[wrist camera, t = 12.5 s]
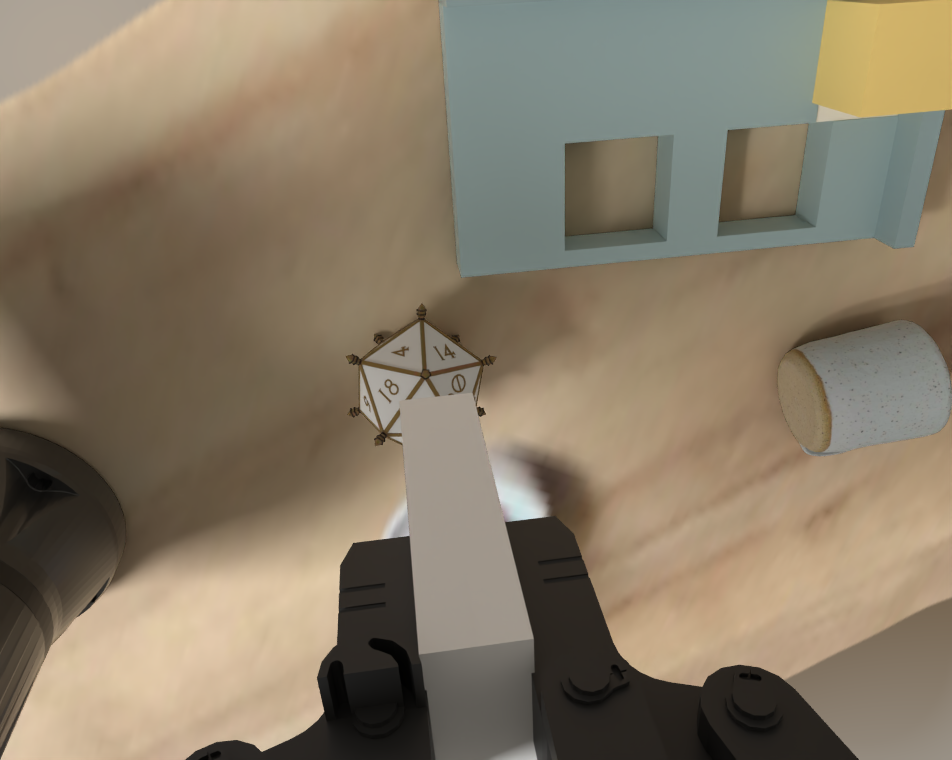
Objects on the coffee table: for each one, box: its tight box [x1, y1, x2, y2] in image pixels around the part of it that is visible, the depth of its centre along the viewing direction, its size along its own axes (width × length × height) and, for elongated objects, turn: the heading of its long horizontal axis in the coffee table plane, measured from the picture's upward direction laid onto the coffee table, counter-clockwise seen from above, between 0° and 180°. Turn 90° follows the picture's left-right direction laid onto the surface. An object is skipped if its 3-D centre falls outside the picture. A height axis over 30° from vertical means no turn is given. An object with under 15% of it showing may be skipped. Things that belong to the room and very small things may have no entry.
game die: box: [346, 304, 497, 446], centre depth 45 cm, size 9×8×10 cm
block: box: [812, 0, 952, 118], centre depth 39 cm, size 5×5×4 cm
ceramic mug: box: [777, 320, 952, 456], centre depth 51 cm, size 11×8×8 cm
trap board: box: [439, 0, 945, 278], centre depth 42 cm, size 26×15×4 cm, turn 93°
